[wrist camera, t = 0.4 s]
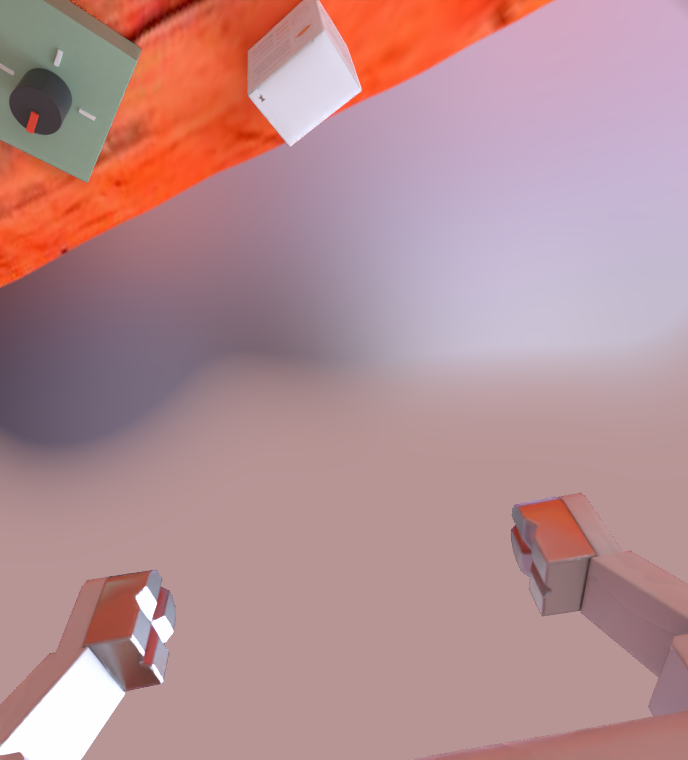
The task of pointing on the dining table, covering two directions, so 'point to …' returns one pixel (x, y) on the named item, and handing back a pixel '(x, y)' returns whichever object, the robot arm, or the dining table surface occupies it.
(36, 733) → the robot arm
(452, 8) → the dining table surface
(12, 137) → the dial console
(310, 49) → the small box
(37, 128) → the dial
